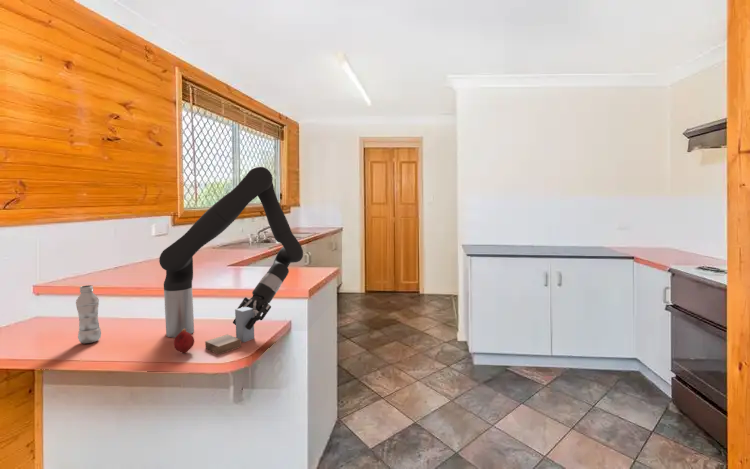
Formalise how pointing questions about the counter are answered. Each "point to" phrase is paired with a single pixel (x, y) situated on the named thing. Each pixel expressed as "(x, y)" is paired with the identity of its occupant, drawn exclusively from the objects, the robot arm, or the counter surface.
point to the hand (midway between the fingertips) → (241, 326)
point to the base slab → (223, 344)
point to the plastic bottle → (88, 315)
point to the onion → (183, 341)
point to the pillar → (244, 324)
